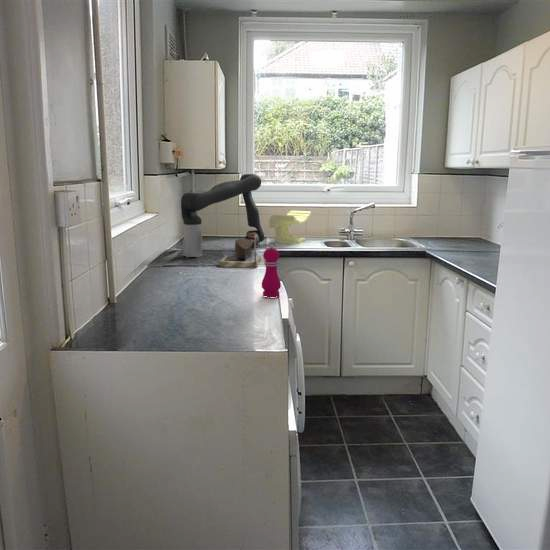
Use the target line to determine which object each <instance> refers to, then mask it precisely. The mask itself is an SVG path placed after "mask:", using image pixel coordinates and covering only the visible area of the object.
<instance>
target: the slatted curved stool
mask: <svg viewBox="0 0 550 550" xmlns="http://www.w3.org/2000/svg"><path fill="white" fill-rule="evenodd" d="M310 217H312V211H309V210H290V211H288V212H287V213H286V214H285V215H282V214H281V215H279V214H278V215H277V214H273V215H271V216H270V217H269V220H268V228H274V234H275V236H274V237H275V240H276V241H277V242H278V243H279V244H291V243H295V245H300V244H302V243H305V242H306V241H307V240H306V238H305V237H297V236H293V235H291V234H290V233H289V229H290V226H291V225H300V224H303V223H306V222H307V221H308V220H309V218H310Z"/></svg>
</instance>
